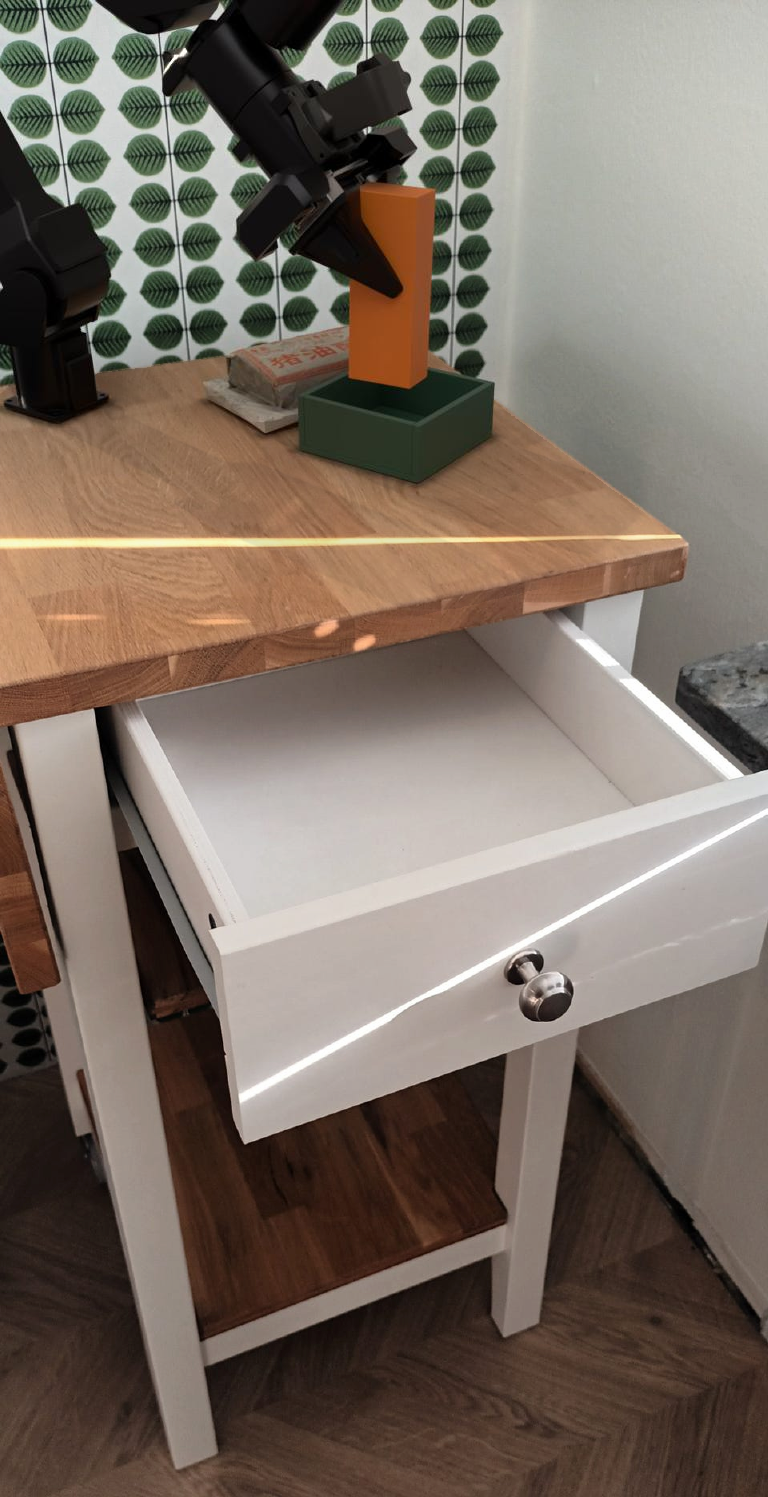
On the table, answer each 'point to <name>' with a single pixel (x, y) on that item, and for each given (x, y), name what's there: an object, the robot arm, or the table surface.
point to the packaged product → (279, 376)
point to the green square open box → (396, 422)
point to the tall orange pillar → (399, 328)
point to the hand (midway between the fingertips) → (408, 288)
